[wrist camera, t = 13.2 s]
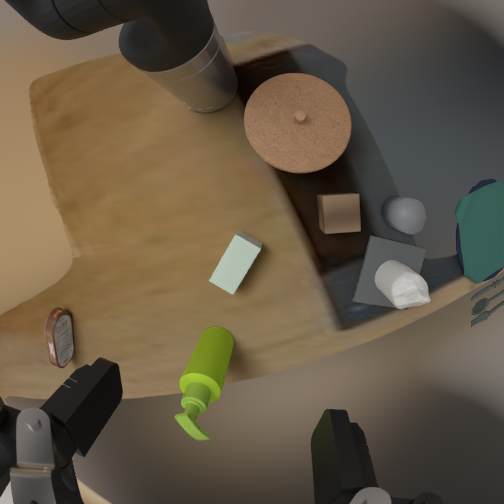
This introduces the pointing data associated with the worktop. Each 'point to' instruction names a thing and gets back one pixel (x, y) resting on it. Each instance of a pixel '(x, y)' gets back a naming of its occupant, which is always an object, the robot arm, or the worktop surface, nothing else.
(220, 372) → the soap dispenser
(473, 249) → the teal place setting
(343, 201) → the walnut cube
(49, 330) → the tin
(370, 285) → the mat
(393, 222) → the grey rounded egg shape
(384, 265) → the white tall lump
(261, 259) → the worktop surface
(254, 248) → the sage bar
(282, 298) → the worktop surface
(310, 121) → the lidded bowl
